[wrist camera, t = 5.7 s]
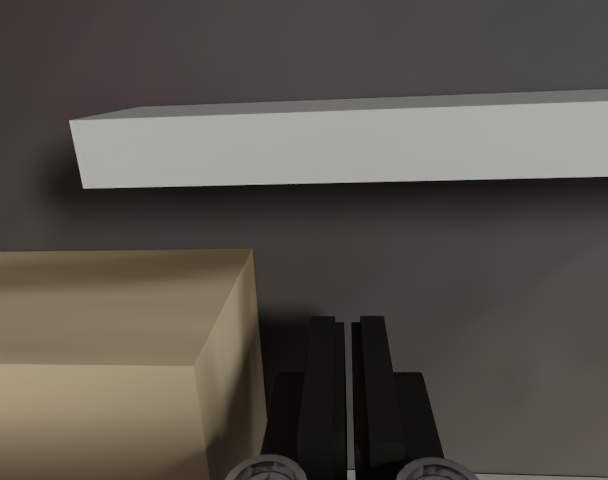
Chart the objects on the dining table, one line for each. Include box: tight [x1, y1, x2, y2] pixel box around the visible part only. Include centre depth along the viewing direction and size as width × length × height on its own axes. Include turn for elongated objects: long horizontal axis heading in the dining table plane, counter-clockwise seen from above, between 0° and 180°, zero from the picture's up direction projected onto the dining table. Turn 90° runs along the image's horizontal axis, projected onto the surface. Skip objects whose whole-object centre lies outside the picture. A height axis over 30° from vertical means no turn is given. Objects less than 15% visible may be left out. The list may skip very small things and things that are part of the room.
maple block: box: [0, 249, 267, 480], centre depth 11 cm, size 6×7×5 cm
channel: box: [69, 89, 608, 480], centre depth 11 cm, size 12×16×3 cm
